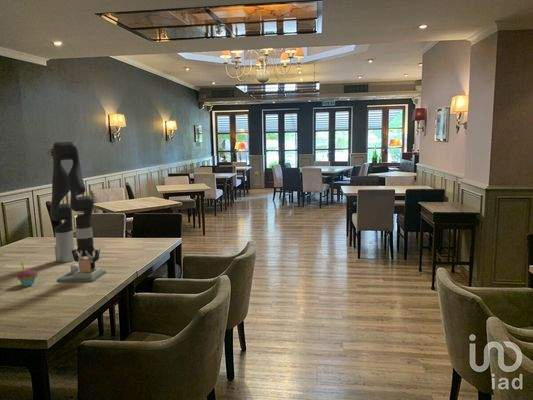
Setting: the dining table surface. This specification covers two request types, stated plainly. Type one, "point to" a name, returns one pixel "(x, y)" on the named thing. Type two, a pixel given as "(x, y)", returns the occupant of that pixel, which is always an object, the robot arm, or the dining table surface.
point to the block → (85, 265)
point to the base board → (81, 275)
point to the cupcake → (27, 276)
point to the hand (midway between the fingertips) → (87, 269)
